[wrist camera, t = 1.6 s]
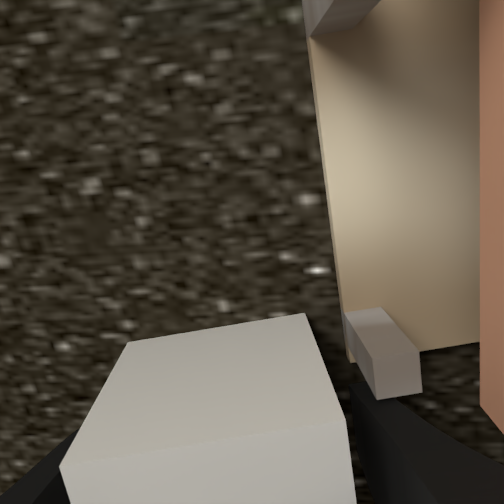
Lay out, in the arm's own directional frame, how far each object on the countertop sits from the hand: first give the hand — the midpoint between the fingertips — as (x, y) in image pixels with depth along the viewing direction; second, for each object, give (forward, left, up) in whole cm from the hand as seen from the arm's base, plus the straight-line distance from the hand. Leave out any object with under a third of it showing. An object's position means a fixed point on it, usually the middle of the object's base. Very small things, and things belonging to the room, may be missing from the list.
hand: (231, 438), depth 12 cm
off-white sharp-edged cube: (0, 0, -2) cm, 2 cm away
